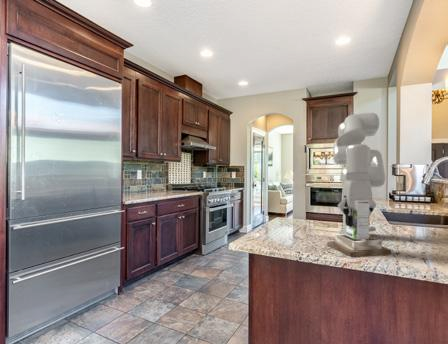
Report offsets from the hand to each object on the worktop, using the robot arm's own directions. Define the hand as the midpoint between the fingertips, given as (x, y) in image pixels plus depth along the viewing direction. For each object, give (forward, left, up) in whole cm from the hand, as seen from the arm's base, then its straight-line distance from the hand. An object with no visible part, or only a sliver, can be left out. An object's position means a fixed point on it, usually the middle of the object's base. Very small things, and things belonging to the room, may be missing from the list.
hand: (357, 225), depth 98 cm
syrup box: (0, 0, -5) cm, 5 cm away
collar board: (0, 0, -9) cm, 9 cm away
